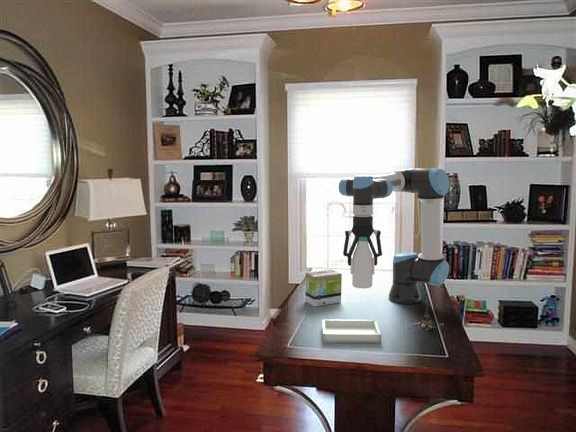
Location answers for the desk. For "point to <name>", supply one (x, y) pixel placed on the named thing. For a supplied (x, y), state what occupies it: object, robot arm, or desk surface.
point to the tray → (350, 331)
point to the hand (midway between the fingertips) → (362, 273)
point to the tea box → (323, 287)
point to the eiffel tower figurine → (426, 321)
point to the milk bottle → (362, 265)
